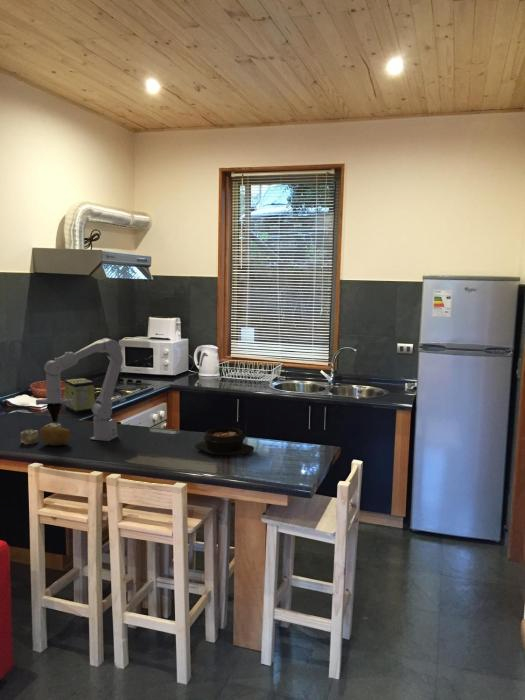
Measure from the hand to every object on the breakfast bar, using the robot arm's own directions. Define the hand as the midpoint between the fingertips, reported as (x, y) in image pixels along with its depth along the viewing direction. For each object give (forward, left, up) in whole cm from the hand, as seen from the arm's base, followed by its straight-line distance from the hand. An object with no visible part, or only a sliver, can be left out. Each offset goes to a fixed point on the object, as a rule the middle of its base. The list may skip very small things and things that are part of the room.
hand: (55, 421), depth 239 cm
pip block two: (+10, -12, -10) cm, 19 cm away
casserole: (-71, -12, -11) cm, 73 cm away
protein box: (+27, -59, -11) cm, 66 cm away
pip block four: (+13, 0, -10) cm, 17 cm away
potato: (0, 0, -11) cm, 11 cm away
